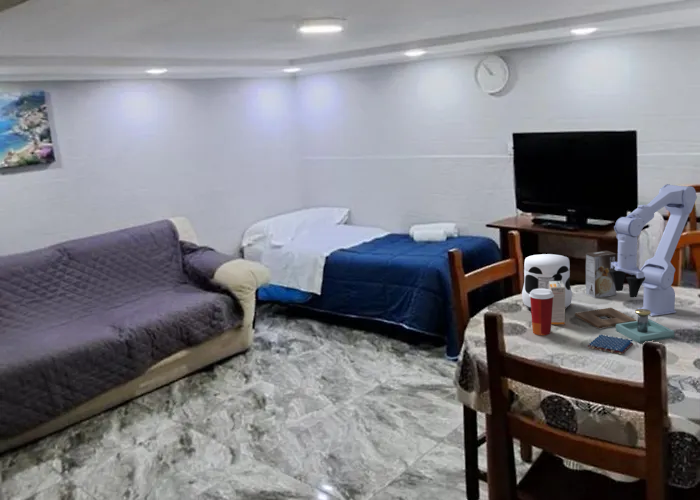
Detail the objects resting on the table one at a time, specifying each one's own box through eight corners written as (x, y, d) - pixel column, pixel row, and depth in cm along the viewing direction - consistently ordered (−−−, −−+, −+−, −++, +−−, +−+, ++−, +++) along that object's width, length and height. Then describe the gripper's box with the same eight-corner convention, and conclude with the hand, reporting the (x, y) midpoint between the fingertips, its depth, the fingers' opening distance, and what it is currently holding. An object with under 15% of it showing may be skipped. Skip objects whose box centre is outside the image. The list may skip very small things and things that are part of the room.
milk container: (551, 297, 247) (551, 251, 243) (582, 309, 231) (583, 260, 227) (512, 305, 241) (511, 257, 237) (541, 318, 225) (541, 268, 221)
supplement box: (565, 324, 218) (565, 287, 215) (550, 324, 219) (550, 287, 216) (562, 316, 225) (562, 280, 222) (548, 316, 226) (548, 280, 223)
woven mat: (598, 339, 205) (598, 333, 205) (633, 345, 198) (634, 339, 198) (586, 350, 197) (586, 343, 197) (622, 357, 191) (622, 350, 190)
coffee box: (606, 290, 250) (607, 250, 246) (616, 295, 244) (617, 253, 240) (584, 293, 248) (585, 252, 244) (594, 298, 242) (595, 256, 238)
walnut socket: (611, 310, 228) (611, 307, 228) (636, 322, 215) (636, 319, 215) (574, 315, 225) (574, 312, 225) (598, 328, 212) (598, 325, 212)
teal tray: (648, 325, 212) (648, 318, 211) (674, 337, 200) (674, 331, 200) (615, 330, 210) (615, 324, 209) (639, 343, 198) (639, 336, 198)
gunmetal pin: (644, 327, 208) (645, 308, 207) (653, 332, 204) (653, 312, 202) (631, 329, 207) (632, 309, 206) (640, 334, 203) (641, 314, 202)
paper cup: (554, 328, 215) (554, 288, 211) (553, 337, 208) (553, 295, 204) (529, 327, 217) (529, 287, 214) (528, 336, 210) (527, 294, 207)
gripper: (603, 250, 218) (602, 289, 221) (630, 260, 204) (629, 301, 207) (621, 248, 220) (620, 286, 223) (650, 257, 206) (648, 298, 209)
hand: (626, 293), depth 215 cm, fingers open, 7 cm apart
